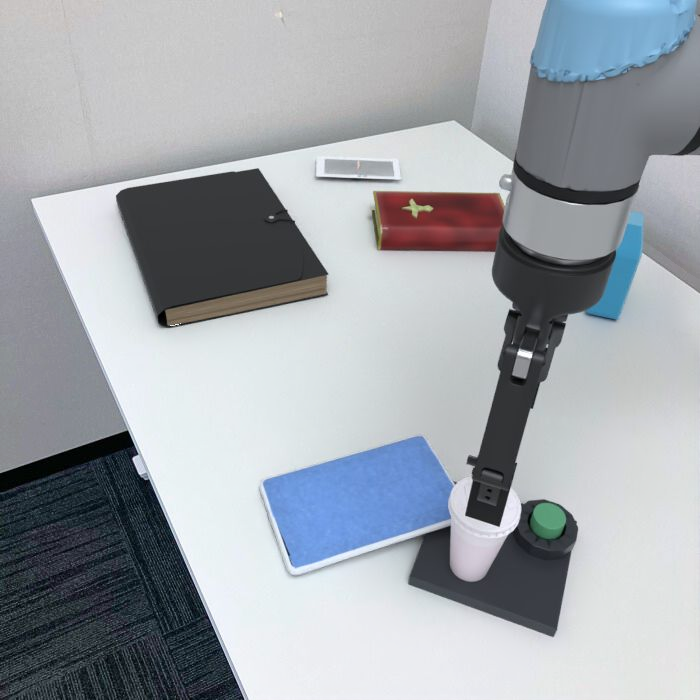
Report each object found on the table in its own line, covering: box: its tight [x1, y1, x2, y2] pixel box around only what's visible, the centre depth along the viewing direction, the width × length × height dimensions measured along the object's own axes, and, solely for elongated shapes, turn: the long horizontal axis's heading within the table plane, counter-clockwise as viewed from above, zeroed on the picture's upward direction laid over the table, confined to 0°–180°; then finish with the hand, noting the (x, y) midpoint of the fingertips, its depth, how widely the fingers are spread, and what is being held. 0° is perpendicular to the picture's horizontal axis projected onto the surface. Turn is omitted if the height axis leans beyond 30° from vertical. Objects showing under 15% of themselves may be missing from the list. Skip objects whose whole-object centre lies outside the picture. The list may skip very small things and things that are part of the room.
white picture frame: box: [315, 155, 402, 181], centre depth 134 cm, size 8×15×2 cm, turn 91°
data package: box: [585, 210, 645, 321], centre depth 106 cm, size 12×4×12 cm, turn 163°
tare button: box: [530, 503, 566, 539], centre depth 74 cm, size 3×3×2 cm
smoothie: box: [448, 475, 522, 582], centre depth 68 cm, size 6×6×14 cm
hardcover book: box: [371, 190, 505, 252], centre depth 120 cm, size 12×21×4 cm, turn 93°
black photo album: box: [115, 167, 329, 328], centre depth 113 cm, size 33×4×24 cm
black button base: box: [407, 480, 579, 638], centre depth 74 cm, size 14×13×3 cm
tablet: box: [259, 434, 455, 576], centre depth 77 cm, size 19×13×1 cm, turn 110°
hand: (502, 455), depth 62 cm, fingers open, 13 cm apart
